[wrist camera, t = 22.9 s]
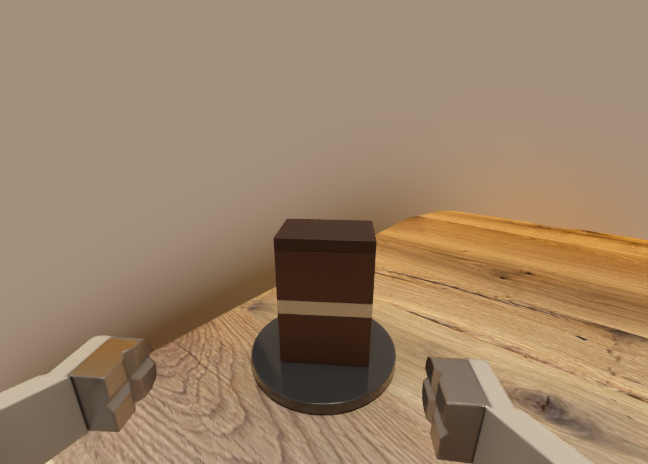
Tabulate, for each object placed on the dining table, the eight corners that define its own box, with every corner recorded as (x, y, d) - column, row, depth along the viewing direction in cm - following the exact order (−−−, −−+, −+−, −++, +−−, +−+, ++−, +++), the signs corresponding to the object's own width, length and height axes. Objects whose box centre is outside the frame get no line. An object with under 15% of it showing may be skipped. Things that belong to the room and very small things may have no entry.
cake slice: (368, 367, 21) (376, 240, 18) (280, 361, 21) (273, 237, 18) (366, 329, 24) (372, 220, 21) (291, 325, 25) (286, 218, 22)
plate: (343, 450, 16) (344, 439, 16) (221, 363, 22) (220, 354, 22) (417, 343, 24) (418, 335, 24) (312, 300, 30) (312, 293, 30)
